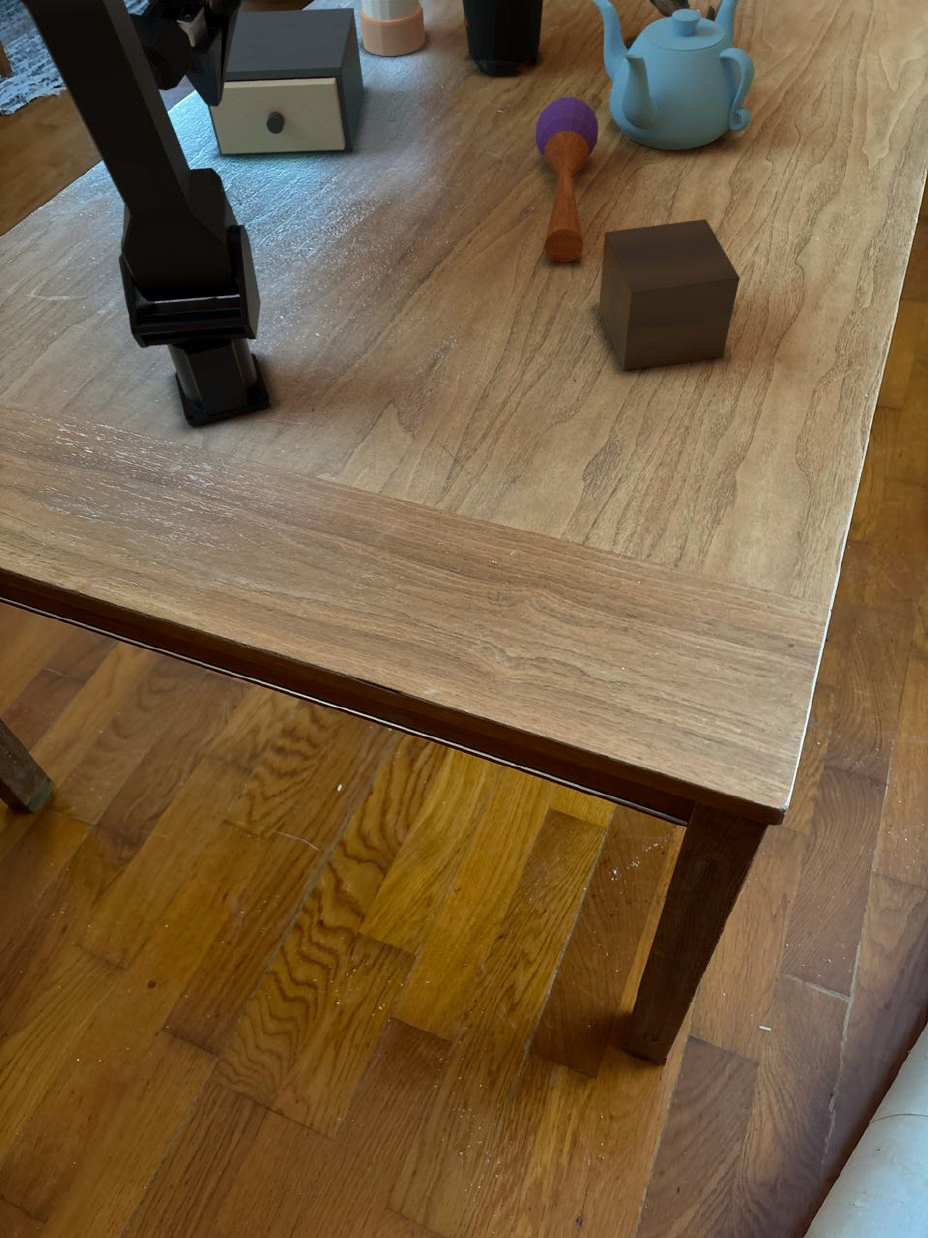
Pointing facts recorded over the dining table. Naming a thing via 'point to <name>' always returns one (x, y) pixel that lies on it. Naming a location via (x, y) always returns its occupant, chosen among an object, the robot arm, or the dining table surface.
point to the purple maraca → (565, 169)
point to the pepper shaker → (392, 26)
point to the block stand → (666, 294)
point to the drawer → (279, 116)
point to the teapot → (677, 78)
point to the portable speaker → (502, 33)
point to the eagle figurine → (668, 3)
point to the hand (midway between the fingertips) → (214, 103)
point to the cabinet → (300, 57)
